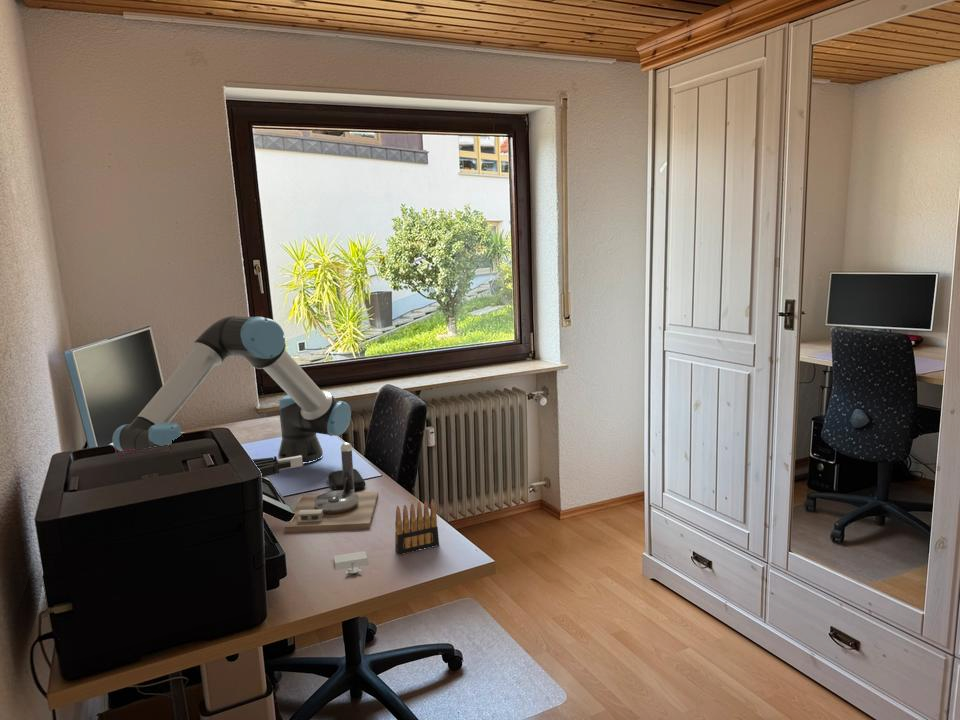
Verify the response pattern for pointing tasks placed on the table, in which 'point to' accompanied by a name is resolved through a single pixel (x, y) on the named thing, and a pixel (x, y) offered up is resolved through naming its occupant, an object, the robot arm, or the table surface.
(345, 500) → the grey rod on disc
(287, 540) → the table surface
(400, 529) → the ammunition clip
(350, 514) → the level stand
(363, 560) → the white sign holder
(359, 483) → the carrying case or bag
